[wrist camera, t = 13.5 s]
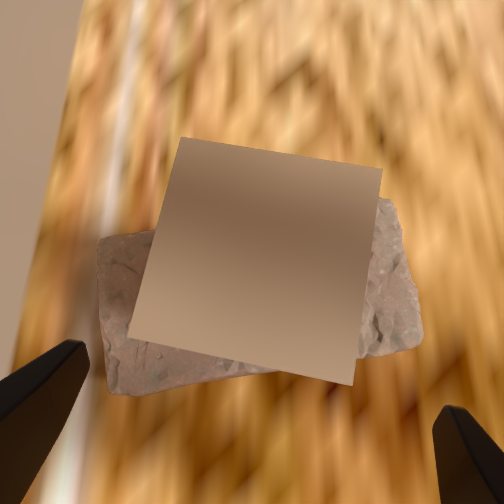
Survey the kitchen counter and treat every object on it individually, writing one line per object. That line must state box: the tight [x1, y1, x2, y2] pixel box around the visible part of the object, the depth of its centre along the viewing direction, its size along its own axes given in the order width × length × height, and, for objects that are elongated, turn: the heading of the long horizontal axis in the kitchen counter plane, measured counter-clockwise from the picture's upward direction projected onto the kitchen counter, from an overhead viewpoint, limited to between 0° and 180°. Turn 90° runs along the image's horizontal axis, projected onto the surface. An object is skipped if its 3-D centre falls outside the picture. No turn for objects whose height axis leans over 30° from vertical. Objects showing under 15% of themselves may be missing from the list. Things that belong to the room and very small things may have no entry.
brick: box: [97, 197, 424, 397], centre depth 21 cm, size 16×8×5 cm, turn 99°
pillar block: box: [127, 137, 383, 386], centre depth 13 cm, size 5×5×10 cm
